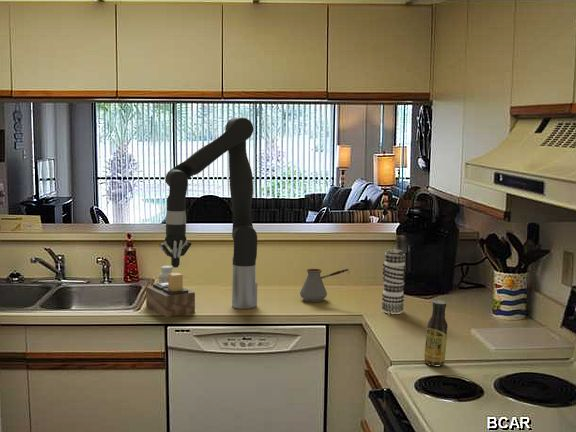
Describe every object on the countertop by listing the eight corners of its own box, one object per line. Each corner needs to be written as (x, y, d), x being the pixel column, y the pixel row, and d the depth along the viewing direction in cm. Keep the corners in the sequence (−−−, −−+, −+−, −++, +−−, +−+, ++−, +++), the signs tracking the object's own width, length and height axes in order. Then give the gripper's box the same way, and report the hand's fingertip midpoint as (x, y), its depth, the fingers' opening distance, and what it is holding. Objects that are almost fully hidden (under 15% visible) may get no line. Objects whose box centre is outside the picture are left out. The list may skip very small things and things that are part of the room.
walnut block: (173, 302, 272) (173, 280, 271) (194, 312, 258) (194, 289, 257) (146, 306, 265) (146, 284, 264) (166, 317, 251) (166, 293, 250)
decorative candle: (403, 316, 260) (406, 252, 257) (379, 314, 262) (382, 251, 259) (405, 310, 269) (407, 248, 266) (381, 308, 271) (384, 247, 268)
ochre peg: (177, 292, 260) (177, 272, 259) (182, 294, 257) (182, 274, 256) (168, 294, 258) (168, 273, 257) (173, 296, 254) (173, 275, 253)
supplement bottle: (176, 295, 285) (177, 265, 283) (172, 298, 278) (172, 268, 276) (161, 294, 285) (161, 264, 284) (157, 298, 279) (156, 267, 277)
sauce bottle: (420, 364, 207) (423, 301, 204) (429, 359, 212) (432, 298, 209) (440, 369, 203) (443, 305, 200) (448, 363, 208) (452, 301, 205)
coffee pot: (295, 301, 279) (296, 266, 277) (306, 295, 289) (307, 261, 287) (343, 308, 270) (344, 271, 268) (352, 301, 280) (354, 266, 278)
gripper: (164, 224, 247) (163, 270, 249) (196, 222, 255) (195, 267, 257) (155, 222, 253) (155, 266, 255) (186, 220, 261) (186, 263, 263)
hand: (175, 267), depth 256 cm, fingers closed
